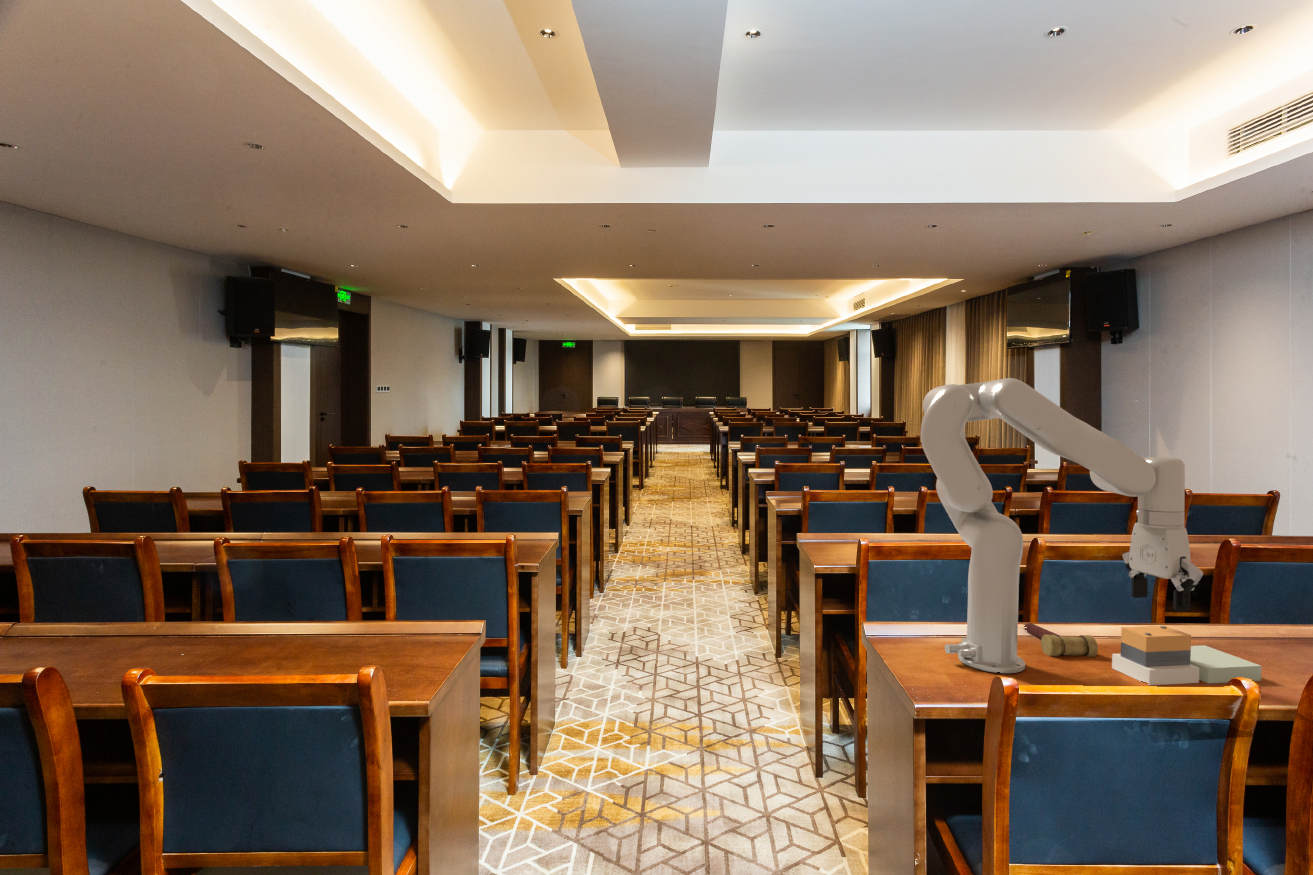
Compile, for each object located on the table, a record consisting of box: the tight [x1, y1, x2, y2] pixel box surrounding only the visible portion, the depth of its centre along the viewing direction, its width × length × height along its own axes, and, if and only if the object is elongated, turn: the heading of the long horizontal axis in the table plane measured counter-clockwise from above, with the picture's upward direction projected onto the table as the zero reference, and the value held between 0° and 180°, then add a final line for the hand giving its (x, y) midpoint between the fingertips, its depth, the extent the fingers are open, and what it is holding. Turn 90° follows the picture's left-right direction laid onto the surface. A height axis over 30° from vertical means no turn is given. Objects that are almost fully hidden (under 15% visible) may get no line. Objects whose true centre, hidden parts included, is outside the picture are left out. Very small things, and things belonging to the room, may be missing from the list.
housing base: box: [1120, 641, 1191, 667], centre depth 137 cm, size 10×6×3 cm, turn 98°
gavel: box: [1022, 622, 1099, 658], centre depth 157 cm, size 21×5×10 cm
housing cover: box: [1120, 625, 1192, 652], centre depth 137 cm, size 10×6×3 cm, turn 98°
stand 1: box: [1111, 652, 1200, 686], centre depth 137 cm, size 11×9×3 cm
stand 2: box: [1190, 644, 1262, 684], centre depth 140 cm, size 12×12×3 cm
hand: (1159, 603), depth 136 cm, fingers open, 9 cm apart
